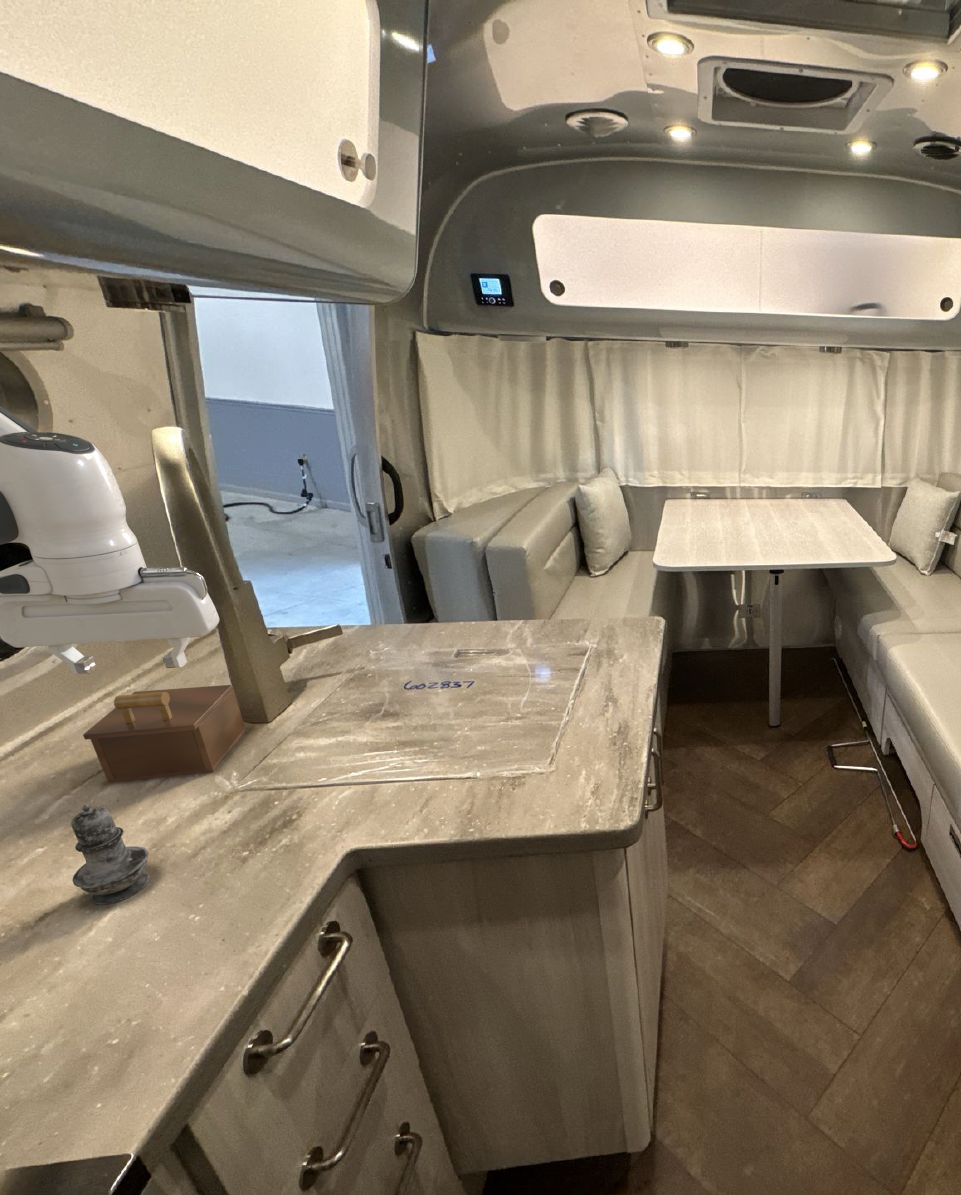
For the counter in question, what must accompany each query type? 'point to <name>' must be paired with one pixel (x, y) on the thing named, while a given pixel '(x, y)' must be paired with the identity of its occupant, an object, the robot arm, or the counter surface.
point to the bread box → (173, 748)
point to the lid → (159, 711)
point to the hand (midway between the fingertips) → (132, 669)
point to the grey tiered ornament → (107, 858)
